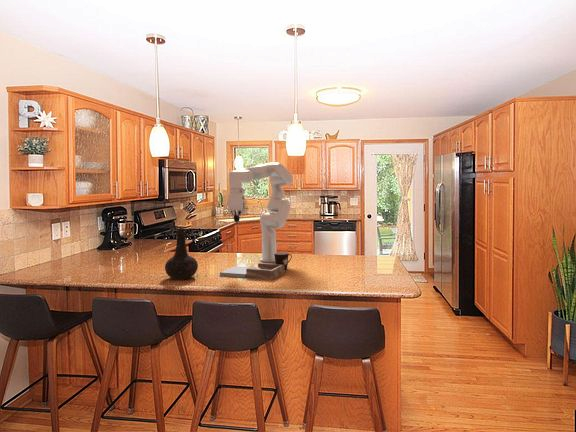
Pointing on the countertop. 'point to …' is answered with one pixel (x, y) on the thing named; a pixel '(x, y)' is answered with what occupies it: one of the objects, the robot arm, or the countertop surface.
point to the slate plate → (235, 272)
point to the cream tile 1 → (254, 267)
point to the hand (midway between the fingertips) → (236, 221)
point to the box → (265, 271)
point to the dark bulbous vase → (181, 260)
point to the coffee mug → (282, 259)
